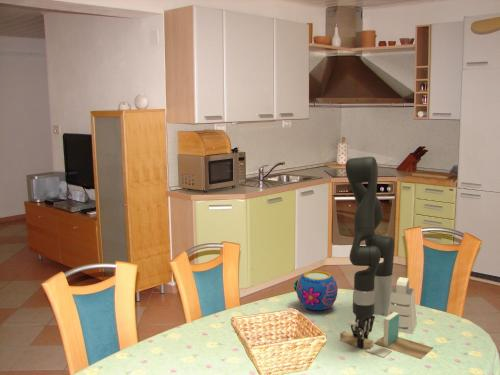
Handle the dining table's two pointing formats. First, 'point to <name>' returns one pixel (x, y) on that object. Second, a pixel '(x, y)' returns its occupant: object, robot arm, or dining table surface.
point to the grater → (403, 305)
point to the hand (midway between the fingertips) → (362, 345)
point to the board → (407, 347)
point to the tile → (391, 328)
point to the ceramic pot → (316, 290)
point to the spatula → (365, 345)
